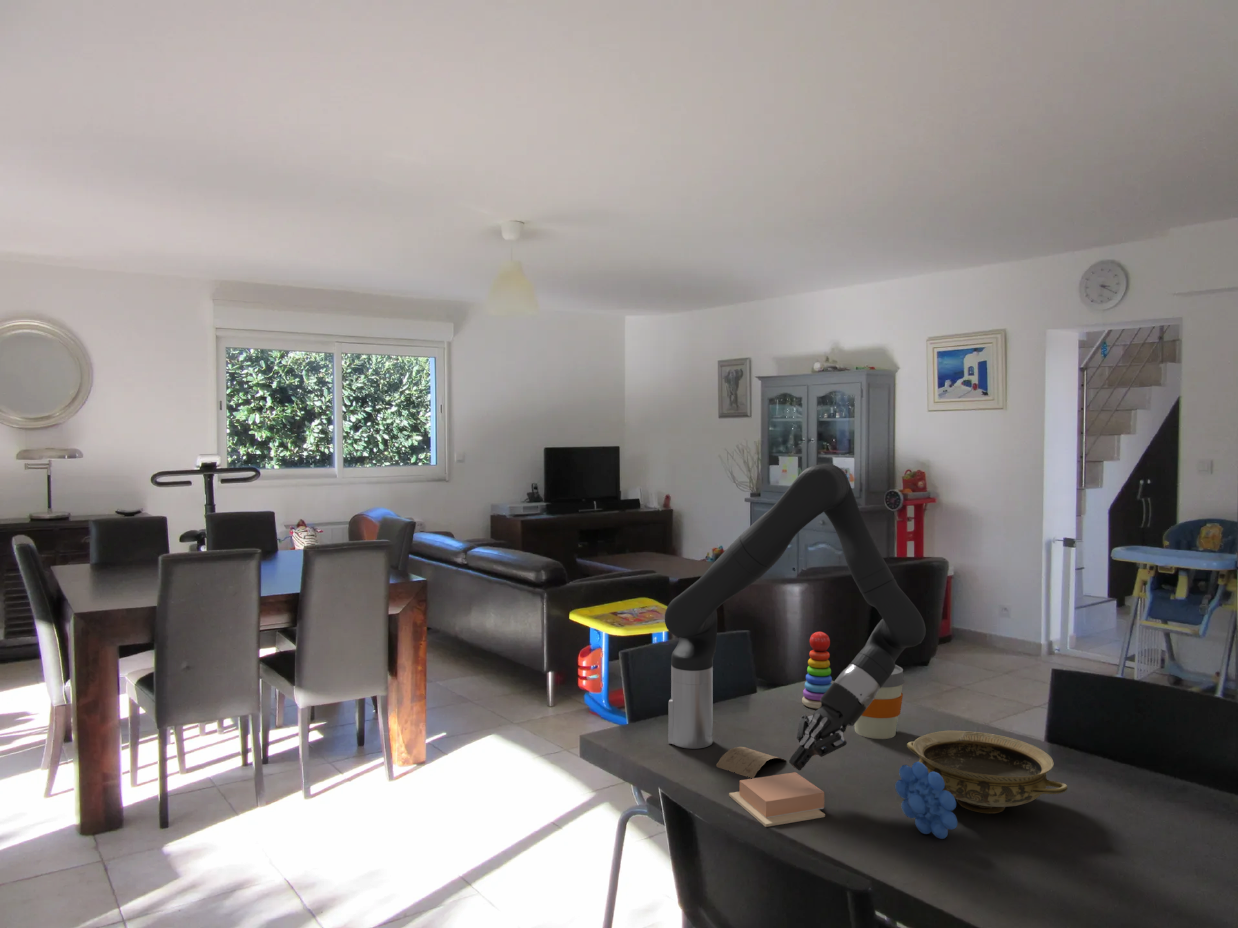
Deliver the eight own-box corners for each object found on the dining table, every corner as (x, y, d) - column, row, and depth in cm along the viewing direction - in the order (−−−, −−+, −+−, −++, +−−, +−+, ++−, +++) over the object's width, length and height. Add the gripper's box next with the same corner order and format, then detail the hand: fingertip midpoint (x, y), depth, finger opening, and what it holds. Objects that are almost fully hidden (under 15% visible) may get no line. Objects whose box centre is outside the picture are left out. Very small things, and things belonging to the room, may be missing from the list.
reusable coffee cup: (858, 719, 206) (858, 658, 206) (910, 730, 199) (911, 666, 198) (838, 734, 196) (839, 669, 195) (893, 745, 188) (894, 678, 188)
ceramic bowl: (1094, 814, 154) (1095, 759, 153) (1030, 854, 139) (1031, 793, 139) (941, 764, 177) (941, 717, 177) (872, 794, 162) (873, 742, 162)
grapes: (880, 828, 148) (881, 759, 148) (903, 817, 152) (904, 751, 152) (941, 853, 139) (942, 781, 139) (964, 842, 143) (965, 771, 143)
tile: (795, 771, 164) (739, 780, 160) (824, 791, 155) (765, 801, 151) (795, 787, 164) (739, 796, 160) (824, 808, 155) (765, 818, 151)
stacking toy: (828, 711, 212) (829, 637, 212) (797, 706, 216) (798, 633, 216) (838, 703, 219) (838, 630, 218) (807, 698, 223) (808, 627, 222)
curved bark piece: (752, 782, 169) (752, 769, 169) (710, 770, 176) (710, 757, 176) (789, 762, 180) (790, 749, 180) (749, 751, 187) (749, 738, 187)
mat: (784, 786, 166) (784, 784, 166) (824, 816, 153) (824, 813, 153) (729, 795, 162) (729, 792, 162) (765, 826, 149) (765, 824, 149)
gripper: (819, 672, 168) (763, 742, 164) (859, 691, 155) (800, 766, 151) (841, 697, 170) (787, 765, 166) (883, 717, 157) (826, 792, 153)
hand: (794, 766), depth 159 cm, fingers closed
